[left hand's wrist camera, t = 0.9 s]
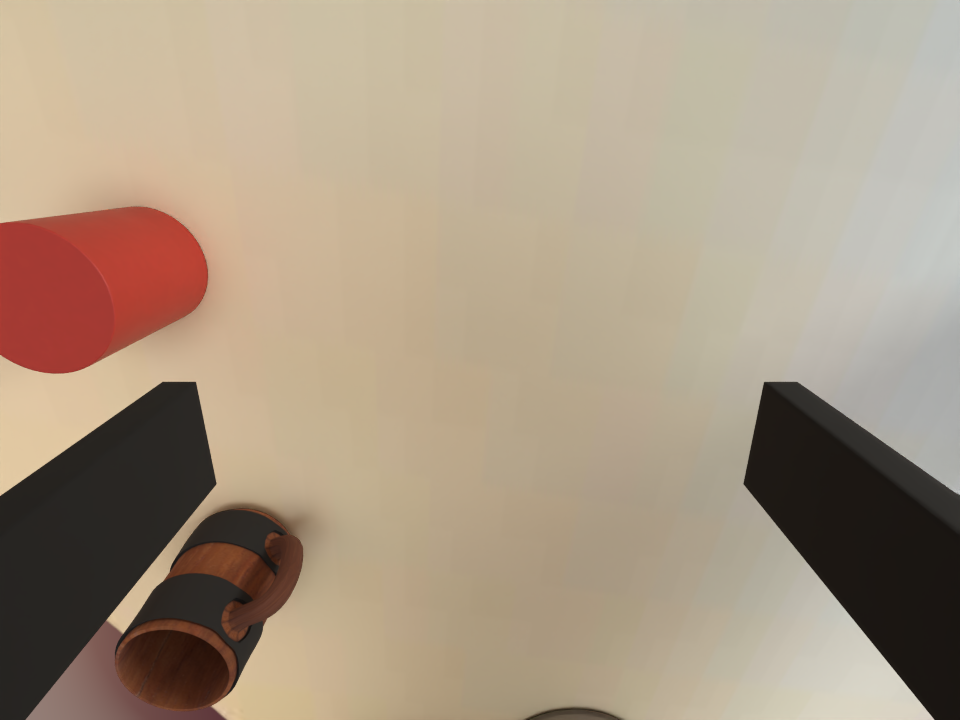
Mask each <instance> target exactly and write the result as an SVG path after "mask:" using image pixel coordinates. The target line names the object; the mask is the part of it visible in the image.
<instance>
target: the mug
mask: <svg viewBox="0 0 960 720" xmlns="http://www.w3.org/2000/svg"><path fill="white" fill-rule="evenodd" d="M302 562H303V547H302V544H301V542H300V540H299V539H297V538H296V537H295V536H292V535H290V534H289V533H288V531H287V530H286V528H285V527H284V526H283V525H282V524H281V523H280V522H278V521H277V520H276V519H274V518H273V517H271V516H269V515H267V514H265V513H263V512H260V511H256V510H251V509H232V510H227V511H222V512H219V513H216V514H213V515H211V516H209V517H208V518H206V519H205V520H204V521H203V522H201V524H200V525H199V526H198V527H197V528H196V529H195V530H194V532H193V533H192V534H191V536H190V537H189V538H188V540H187V541H186V543H185V544H184V546H183V547H182V549H181V550H180V552H179V554H178V555H177V557H176V558H175V560H174V562H173V563H172V566H171V568H170V573H169V574H168V575H167V577H166V578H165V580H164V581H163V582H162V583H160V584H159V585H158V586H157V587H156V588H155V589H154V590H153V591H152V593H151V594H150V596H149V597H148V599H147V601H146V602H145V604H144V605H143V607H142V608H141V610H140V611H139V613H138V614H137V616H136V617H135V619H134V620H133V621H132V623H131V624H130V626H129V627H128V628H127V630H126V631H125V632H124V634H123V635H122V636H121V638H120V640H119V641H118V643H117V646H116V650H115V667H116V672H117V674H118V677H119V678H120V680H121V682H122V683H123V684H124V686H125V687H126V688H127V689H128V690H129V691H130V692H131V693H132V694H134V695H135V696H136V697H138V698H139V699H141V700H143V701H144V702H146V703H148V704H151V705H153V706H156V707H159V708H163V709H167V710H174V711H194V710H200V709H204V708H207V707H209V706H212V705H213V704H215V703H217V702H218V701H220V700H221V699H222V698H224V697H225V696H227V695H228V694H229V693H230V692H231V691H232V690H233V688H234V687H235V685H236V683H237V681H238V679H239V677H240V675H241V673H242V671H243V669H244V667H245V665H246V663H247V661H248V659H249V657H250V655H251V654H252V652H253V650H254V648H255V647H256V645H257V643H258V641H259V639H260V637H261V634H262V631H263V626H264V624H265V622H266V620H267V618H269V617H270V616H272V615H273V614H275V613H276V612H277V611H278V610H279V609H280V608H281V607H282V606H283V605H284V604H285V603H286V601H287V600H288V598H289V597H290V595H291V593H292V591H293V589H294V587H295V585H296V583H297V581H298V578H299V575H300V572H301V568H302Z"/></svg>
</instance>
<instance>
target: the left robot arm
mask: <svg viewBox="0 0 960 720" xmlns="http://www.w3.org/2000/svg"><path fill="white" fill-rule="evenodd" d="M215 485H216V479H215V474H214V469H213V464H212V459H211V454H210V449H209V445H208V440H207V435H206V430H205V425H204V420H203V415H202V410H201V405H200V400H199V395H198V390H197V385H196V382H162V383H161V384H159V385H158V386H156V387H155V388H153V389H152V390H151V391H149V392H148V393H146V394H145V395H143V396H142V397H141V398H139V399H138V400H136V401H135V402H133V403H132V404H131V405H129V406H128V407H126V408H125V409H124V410H122V411H121V412H119V413H118V414H116V415H115V416H114V417H112V418H111V419H109V420H108V421H106V422H105V423H104V424H102V425H101V426H99V427H98V428H96V429H95V430H94V431H92V432H91V433H89V434H88V435H87V436H85V437H84V438H82V439H81V440H79V441H78V442H77V443H75V444H74V445H72V446H71V447H69V448H68V449H67V450H65V451H64V452H62V453H61V454H59V455H58V456H57V457H55V458H54V459H52V460H51V461H49V462H48V463H47V464H45V465H44V466H42V467H41V468H40V469H38V470H37V471H35V472H34V473H32V474H31V475H30V476H28V477H27V478H25V479H24V480H22V481H21V482H20V483H18V484H17V485H15V486H14V487H12V488H11V489H10V490H8V491H7V492H5V493H4V494H3V495H1V496H0V720H26V718H27V717H28V716H29V715H30V713H31V712H32V711H33V710H34V708H35V707H36V706H37V705H38V704H39V702H40V701H41V700H42V699H43V697H44V696H45V695H46V694H47V692H48V691H49V690H50V689H51V687H52V686H53V685H54V684H55V682H56V681H57V680H58V679H59V678H60V676H61V675H62V674H63V673H64V671H65V670H66V669H67V668H68V667H69V665H70V664H71V663H72V662H73V660H74V659H75V658H76V657H77V655H78V654H79V653H80V652H81V650H82V649H83V648H84V647H85V646H86V644H87V643H88V642H89V641H90V639H91V638H92V637H93V636H94V634H95V633H96V632H97V631H98V629H99V628H100V627H101V626H102V625H103V623H104V622H105V621H106V620H107V618H108V617H109V616H110V615H111V613H112V612H113V611H114V610H115V609H116V607H117V606H118V605H119V604H120V602H121V601H122V600H123V599H124V597H125V596H126V595H127V594H128V593H129V591H130V590H131V589H132V588H133V586H134V585H135V584H136V583H137V581H138V580H139V579H140V578H141V577H142V575H143V574H144V573H145V572H146V570H147V569H148V568H149V567H150V565H151V564H152V563H153V562H154V560H155V559H156V558H157V557H158V556H159V554H160V553H161V552H162V551H163V549H164V548H165V547H166V546H167V544H168V543H169V542H170V541H171V540H172V538H173V537H174V536H175V535H176V533H177V532H178V531H179V530H180V528H181V527H182V526H183V525H184V523H185V522H186V521H187V520H188V519H189V517H190V516H191V515H192V514H193V512H194V511H195V510H196V509H197V507H198V506H199V505H200V504H201V503H202V501H203V500H204V499H205V498H206V496H207V495H208V494H209V493H210V491H211V490H212V489H213V488H214V486H215ZM744 485H745V486H746V488H747V489H748V490H749V491H750V493H751V494H752V495H753V496H754V498H755V499H756V500H757V501H758V503H759V504H760V505H761V506H762V507H763V509H764V510H765V511H766V512H767V514H768V515H769V516H770V517H771V519H772V520H773V521H774V522H775V523H776V525H777V526H778V527H779V528H780V530H781V531H782V532H783V533H784V535H785V536H786V537H787V538H788V540H789V541H790V542H791V543H792V544H793V546H794V547H795V548H796V549H797V551H798V552H799V553H800V554H801V556H802V557H803V558H804V559H805V560H806V562H807V563H808V564H809V565H810V567H811V568H812V569H813V570H814V572H815V573H816V574H817V575H818V577H819V578H820V579H821V580H822V581H823V583H824V584H825V585H826V586H827V588H828V589H829V590H830V591H831V593H832V594H833V595H834V596H835V597H836V599H837V600H838V601H839V602H840V604H841V605H842V606H843V607H844V609H845V610H846V611H847V612H848V614H849V615H850V616H851V617H852V618H853V620H854V621H855V622H856V623H857V625H858V626H859V627H860V628H861V630H862V631H863V632H864V633H865V634H866V636H867V637H868V638H869V639H870V641H871V642H872V643H873V644H874V646H875V647H876V648H877V649H878V650H879V652H880V653H881V654H882V655H883V657H884V658H885V659H886V660H887V662H888V663H889V664H890V665H891V667H892V668H893V669H894V670H895V671H896V673H897V674H898V675H899V676H900V678H901V679H902V680H903V681H904V683H905V684H906V685H907V686H908V687H909V689H910V690H911V691H912V692H913V694H914V695H915V696H916V697H917V699H918V700H919V701H920V702H921V704H922V705H923V706H924V707H925V708H926V710H927V711H928V712H929V713H930V715H931V716H932V717H933V718H934V720H960V495H959V494H957V493H955V492H953V491H952V490H950V489H949V488H948V487H946V486H945V485H943V484H942V483H940V482H939V481H938V480H936V479H935V478H933V477H932V476H930V475H929V474H928V473H926V472H925V471H923V470H922V469H920V468H919V467H918V466H916V465H915V464H913V463H912V462H911V461H909V460H908V459H906V458H905V457H903V456H902V455H901V454H899V453H898V452H896V451H895V450H893V449H892V448H891V447H889V446H888V445H886V444H885V443H883V442H882V441H881V440H879V439H878V438H876V437H875V436H873V435H872V434H871V433H869V432H868V431H866V430H865V429H864V428H862V427H861V426H859V425H858V424H856V423H855V422H854V421H852V420H851V419H849V418H848V417H846V416H845V415H844V414H842V413H841V412H839V411H838V410H836V409H835V408H834V407H832V406H831V405H829V404H828V403H827V402H825V401H824V400H822V399H821V398H819V397H818V396H817V395H815V394H814V393H812V392H811V391H809V390H808V389H807V388H805V387H804V386H802V385H801V384H799V383H798V382H764V385H763V390H762V395H761V400H760V405H759V410H758V415H757V420H756V425H755V430H754V435H753V440H752V445H751V449H750V454H749V459H748V464H747V469H746V474H745V479H744ZM529 720H619V719H617V718H615V717H613V716H610V715H607V714H604V713H600V712H596V711H590V710H575V709H572V710H560V711H554V712H549V713H545V714H542V715H539V716H536V717H534V718H532V719H529Z"/></svg>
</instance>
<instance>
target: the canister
mask: <svg viewBox="0 0 960 720" xmlns="http://www.w3.org/2000/svg"><path fill="white" fill-rule="evenodd" d="M207 278H208V275H207V266H206V261H205V258H204V255H203V252H202V250H201V248H200V246H199V244H198V243H197V241H196V240H195V238H194V237H193V236H192V234H191V233H190V232H189V231H188V230H187V229H186V228H185V227H184V226H183V225H182V224H181V223H179V222H178V221H177V220H175V219H174V218H172V217H171V216H169V215H167V214H165V213H163V212H160V211H158V210H155V209H151V208H147V207H125V208H117V209H109V210H101V211H93V212H85V213H78V214H70V215H62V216H54V217H46V218H38V219H30V220H22V221H14V222H6V223H0V355H2V356H3V357H5V358H6V359H8V360H10V361H12V362H13V363H16V364H18V365H20V366H22V367H25V368H28V369H31V370H34V371H39V372H44V373H69V372H75V371H78V370H81V369H84V368H86V367H88V366H90V365H92V364H94V363H96V362H98V361H100V360H102V359H104V358H105V357H107V356H109V355H111V354H113V353H115V352H117V351H119V350H121V349H123V348H125V347H127V346H129V345H131V344H132V343H134V342H136V341H138V340H140V339H142V338H144V337H146V336H148V335H150V334H152V333H154V332H156V331H157V330H159V329H161V328H163V327H165V326H167V325H169V324H171V323H173V322H175V321H177V320H179V319H181V318H182V317H184V316H186V315H188V314H189V313H191V312H192V311H193V310H194V309H195V308H196V307H197V306H198V304H199V303H200V302H201V300H202V298H203V296H204V293H205V291H206V286H207Z"/></svg>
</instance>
